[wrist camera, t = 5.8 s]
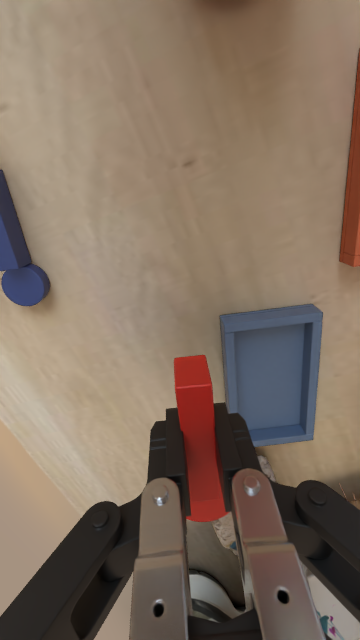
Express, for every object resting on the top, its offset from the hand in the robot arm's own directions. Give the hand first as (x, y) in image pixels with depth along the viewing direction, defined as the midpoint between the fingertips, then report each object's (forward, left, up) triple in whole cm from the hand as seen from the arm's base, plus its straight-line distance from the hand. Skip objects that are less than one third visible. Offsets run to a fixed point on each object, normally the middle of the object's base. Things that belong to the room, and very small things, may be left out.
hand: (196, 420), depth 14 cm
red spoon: (+2, 0, -1) cm, 2 cm away
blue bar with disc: (-8, -12, -13) cm, 19 cm away
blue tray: (+7, +7, -13) cm, 16 cm away
